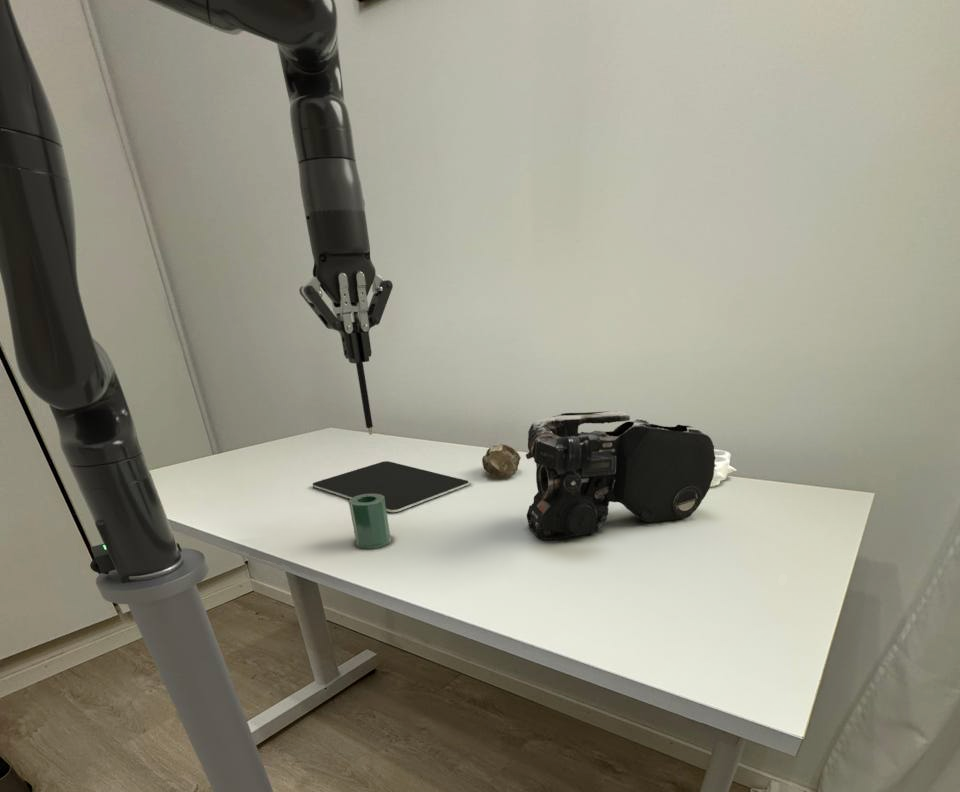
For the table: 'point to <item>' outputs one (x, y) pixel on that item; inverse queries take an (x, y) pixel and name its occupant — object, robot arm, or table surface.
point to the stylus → (363, 383)
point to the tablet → (392, 484)
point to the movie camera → (614, 472)
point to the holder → (370, 520)
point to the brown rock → (501, 461)
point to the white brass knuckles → (721, 466)
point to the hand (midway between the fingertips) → (359, 361)
